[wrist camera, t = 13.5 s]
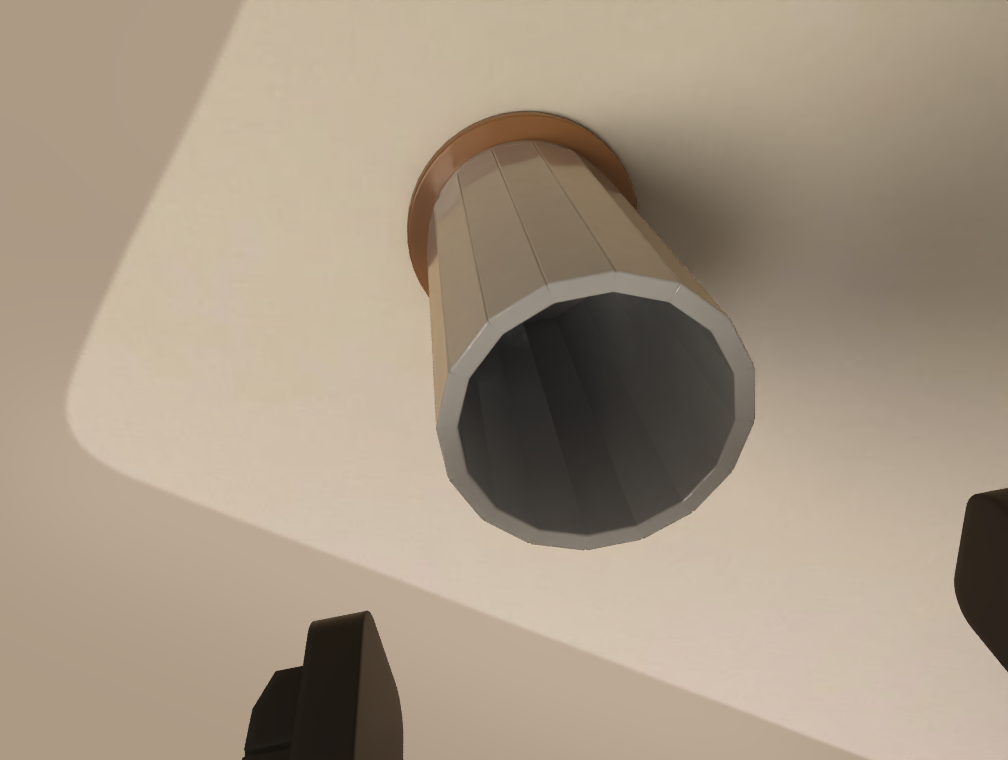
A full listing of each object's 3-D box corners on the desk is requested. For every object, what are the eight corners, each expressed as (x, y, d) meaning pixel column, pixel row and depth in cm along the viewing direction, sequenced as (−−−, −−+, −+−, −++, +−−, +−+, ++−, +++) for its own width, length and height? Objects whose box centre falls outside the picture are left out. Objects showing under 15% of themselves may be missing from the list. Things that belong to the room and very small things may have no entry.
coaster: (383, 135, 23) (382, 140, 23) (624, 90, 23) (628, 93, 23) (433, 351, 27) (433, 359, 26) (642, 311, 27) (647, 318, 26)
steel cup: (409, 160, 23) (407, 310, 13) (611, 122, 23) (755, 243, 13) (449, 342, 26) (471, 574, 16) (628, 307, 26) (756, 518, 16)
